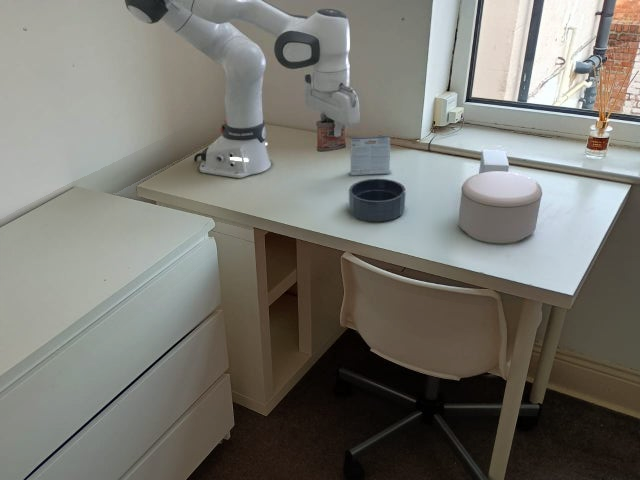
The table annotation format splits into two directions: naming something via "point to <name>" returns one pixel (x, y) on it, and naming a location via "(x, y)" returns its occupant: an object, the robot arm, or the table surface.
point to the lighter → (329, 135)
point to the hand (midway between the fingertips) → (331, 133)
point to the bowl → (377, 199)
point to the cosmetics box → (493, 161)
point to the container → (499, 206)
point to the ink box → (370, 155)
